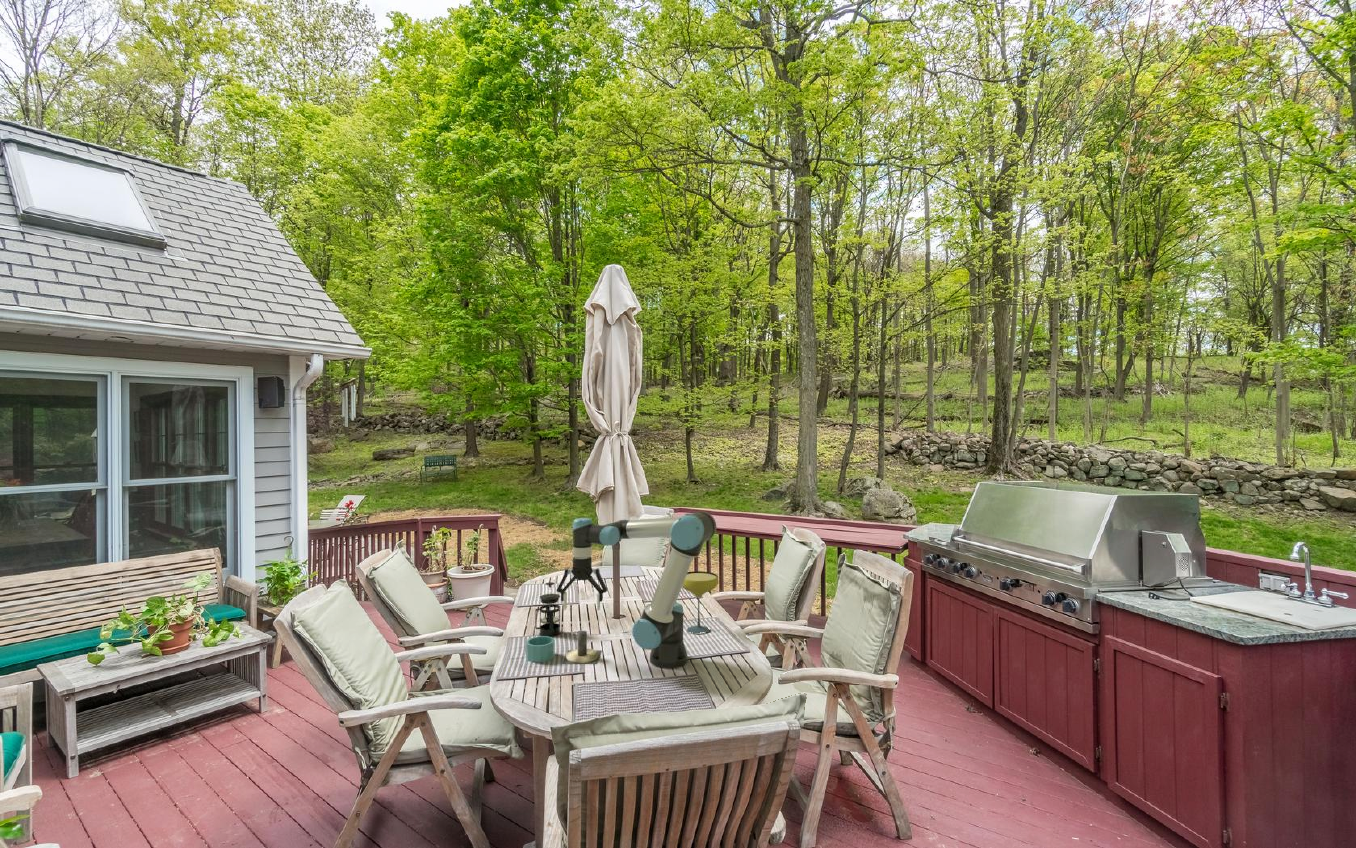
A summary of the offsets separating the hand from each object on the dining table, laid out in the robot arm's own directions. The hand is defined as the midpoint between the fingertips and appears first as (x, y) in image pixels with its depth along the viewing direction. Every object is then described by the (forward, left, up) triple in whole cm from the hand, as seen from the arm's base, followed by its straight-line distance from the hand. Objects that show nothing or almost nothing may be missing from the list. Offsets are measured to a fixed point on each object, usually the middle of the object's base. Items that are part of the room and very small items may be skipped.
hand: (581, 609), depth 236 cm
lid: (0, 0, -19) cm, 19 cm away
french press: (+20, -28, -20) cm, 40 cm away
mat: (0, 0, -20) cm, 20 cm away
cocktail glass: (-48, -33, -20) cm, 62 cm away
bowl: (+17, 0, -20) cm, 26 cm away
